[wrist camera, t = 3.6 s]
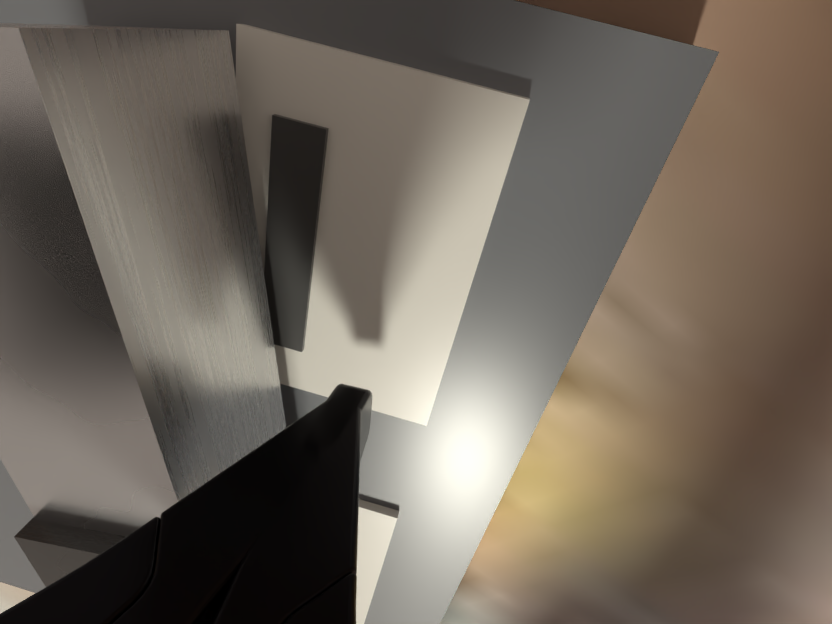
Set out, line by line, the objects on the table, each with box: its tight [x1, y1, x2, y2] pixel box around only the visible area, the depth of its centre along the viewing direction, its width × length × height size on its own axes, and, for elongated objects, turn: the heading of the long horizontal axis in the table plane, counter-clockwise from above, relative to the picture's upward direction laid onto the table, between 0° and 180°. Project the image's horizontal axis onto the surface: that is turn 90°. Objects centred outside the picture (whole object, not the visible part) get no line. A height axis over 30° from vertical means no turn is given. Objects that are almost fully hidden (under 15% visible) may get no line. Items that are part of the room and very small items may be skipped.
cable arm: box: [0, 23, 286, 587], centre depth 9 cm, size 18×3×3 cm, turn 179°
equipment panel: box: [0, 0, 719, 624], centre depth 12 cm, size 20×18×1 cm
